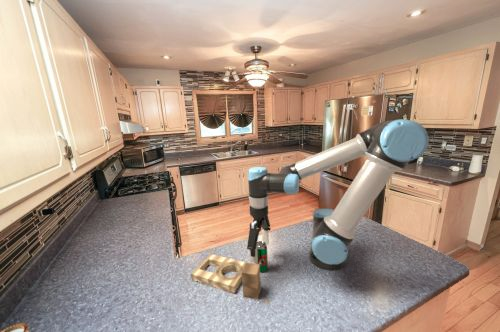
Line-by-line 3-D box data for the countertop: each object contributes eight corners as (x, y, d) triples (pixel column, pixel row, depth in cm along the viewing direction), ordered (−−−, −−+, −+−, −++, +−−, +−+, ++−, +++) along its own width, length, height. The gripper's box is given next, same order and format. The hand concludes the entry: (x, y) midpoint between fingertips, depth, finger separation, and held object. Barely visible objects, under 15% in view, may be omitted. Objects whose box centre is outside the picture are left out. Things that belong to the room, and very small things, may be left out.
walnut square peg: (261, 287, 78) (259, 264, 77) (258, 299, 73) (256, 274, 71) (247, 285, 80) (245, 262, 78) (243, 297, 75) (241, 272, 73)
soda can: (270, 268, 89) (269, 243, 86) (262, 274, 85) (261, 248, 83) (261, 263, 92) (260, 239, 90) (253, 269, 88) (252, 244, 86)
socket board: (249, 269, 89) (249, 263, 88) (234, 293, 76) (233, 286, 76) (211, 259, 97) (210, 253, 96) (191, 280, 84) (190, 273, 84)
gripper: (261, 194, 96) (262, 236, 100) (236, 216, 73) (239, 269, 78) (276, 196, 93) (277, 239, 97) (255, 219, 70) (257, 274, 75)
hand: (260, 252), depth 87 cm, fingers open, 13 cm apart
